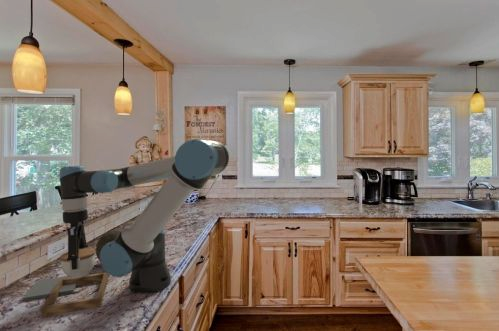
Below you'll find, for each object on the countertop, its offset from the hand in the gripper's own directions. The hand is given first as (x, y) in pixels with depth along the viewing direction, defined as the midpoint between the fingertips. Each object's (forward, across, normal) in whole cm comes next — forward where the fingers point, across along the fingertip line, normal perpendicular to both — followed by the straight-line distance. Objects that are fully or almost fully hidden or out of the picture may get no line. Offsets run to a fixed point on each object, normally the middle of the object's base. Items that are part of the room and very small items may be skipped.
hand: (79, 271), depth 103 cm
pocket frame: (+9, 0, -1) cm, 9 cm away
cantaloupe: (+9, -30, +8) cm, 32 cm away
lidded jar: (+1, 0, 0) cm, 1 cm away
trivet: (+8, -12, -11) cm, 18 cm away
